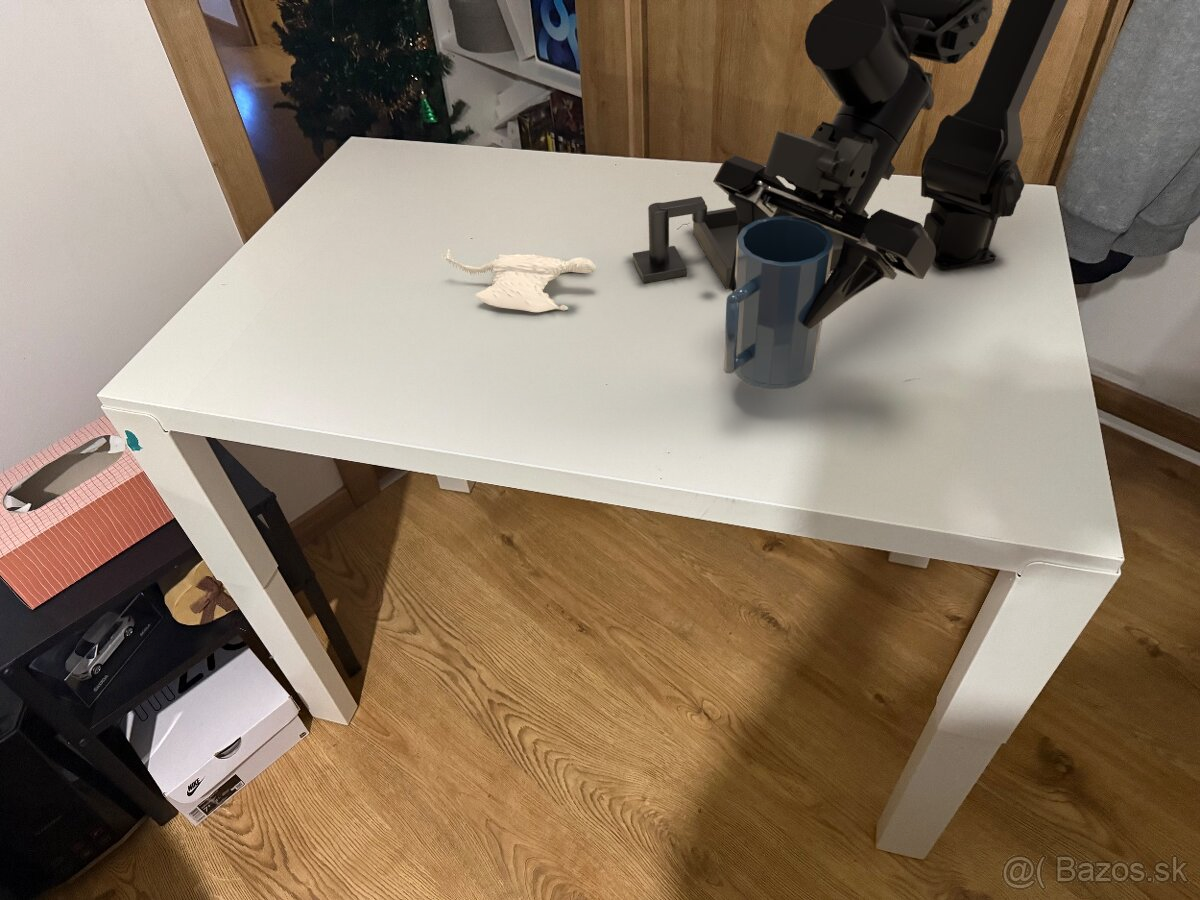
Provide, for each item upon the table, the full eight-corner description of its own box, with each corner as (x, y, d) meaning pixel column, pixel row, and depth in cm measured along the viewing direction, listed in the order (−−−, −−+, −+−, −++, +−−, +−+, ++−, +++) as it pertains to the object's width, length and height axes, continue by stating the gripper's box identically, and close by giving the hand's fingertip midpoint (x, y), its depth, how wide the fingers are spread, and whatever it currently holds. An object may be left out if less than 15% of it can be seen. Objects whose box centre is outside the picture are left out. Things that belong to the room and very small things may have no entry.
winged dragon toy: (428, 307, 90) (419, 275, 87) (458, 258, 97) (451, 226, 94) (587, 319, 86) (584, 286, 84) (606, 267, 93) (604, 235, 91)
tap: (643, 283, 91) (641, 221, 85) (632, 260, 94) (630, 199, 89) (711, 271, 92) (714, 209, 86) (698, 249, 95) (700, 187, 90)
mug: (766, 327, 77) (776, 206, 69) (831, 360, 73) (852, 236, 64) (692, 380, 73) (693, 257, 64) (757, 418, 69) (769, 293, 60)
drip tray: (822, 210, 99) (825, 191, 98) (867, 263, 91) (871, 243, 89) (692, 232, 98) (693, 213, 96) (725, 288, 89) (727, 268, 87)
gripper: (732, 55, 64) (638, 237, 67) (951, 117, 54) (828, 328, 57) (786, 121, 73) (701, 278, 76) (982, 184, 63) (875, 364, 66)
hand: (768, 308), depth 68 cm, fingers closed on mug, 7 cm apart
